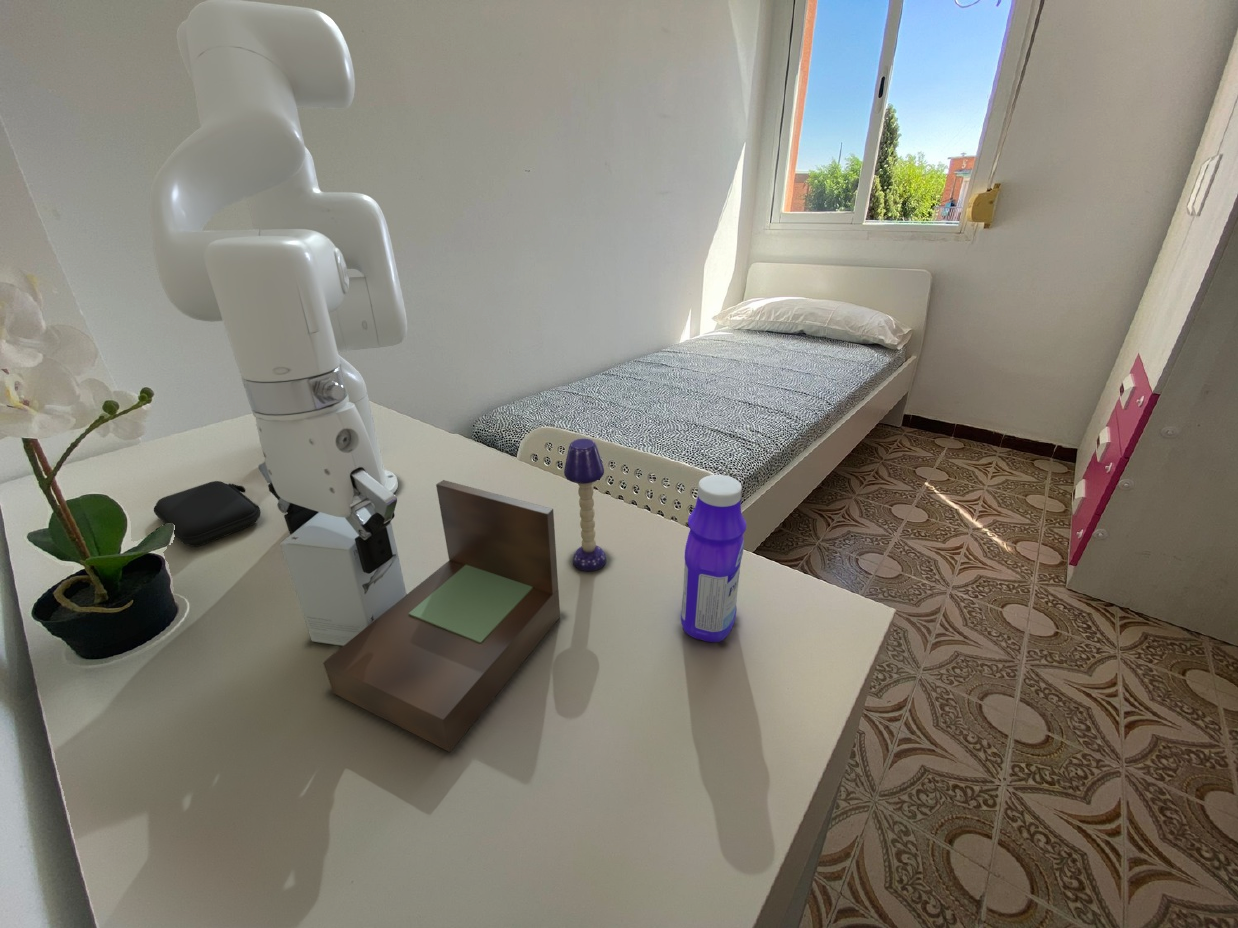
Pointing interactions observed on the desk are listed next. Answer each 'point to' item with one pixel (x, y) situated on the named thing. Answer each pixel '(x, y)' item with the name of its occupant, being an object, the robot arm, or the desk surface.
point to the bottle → (713, 559)
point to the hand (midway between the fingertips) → (343, 552)
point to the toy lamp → (585, 499)
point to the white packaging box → (339, 578)
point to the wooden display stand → (458, 620)
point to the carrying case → (207, 512)
